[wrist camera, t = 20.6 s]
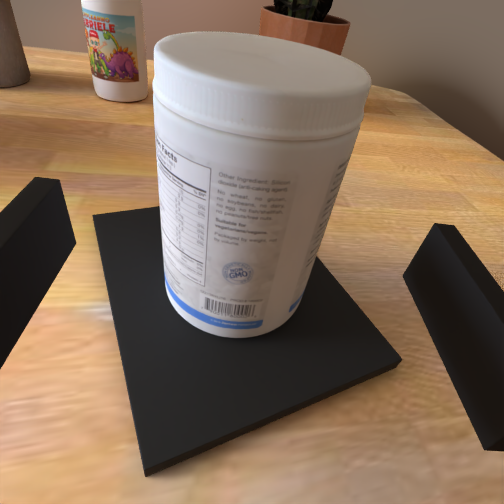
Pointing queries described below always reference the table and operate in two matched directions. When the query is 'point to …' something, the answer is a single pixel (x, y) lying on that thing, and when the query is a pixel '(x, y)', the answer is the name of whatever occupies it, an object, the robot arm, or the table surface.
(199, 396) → the mat
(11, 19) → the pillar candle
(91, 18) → the milk bottle
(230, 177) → the supplement tub
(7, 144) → the table surface
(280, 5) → the potted plant
